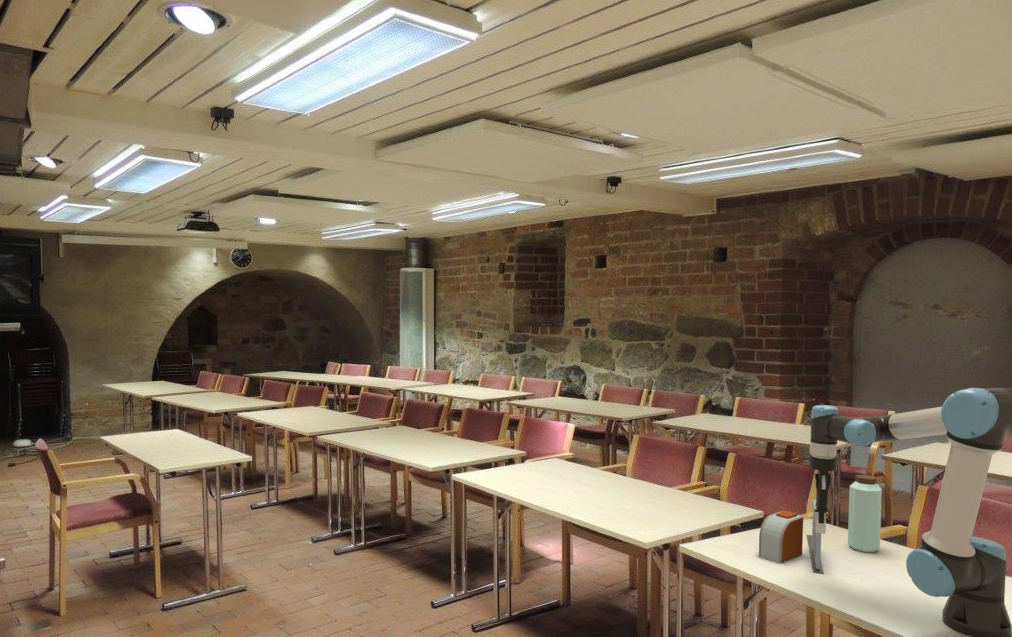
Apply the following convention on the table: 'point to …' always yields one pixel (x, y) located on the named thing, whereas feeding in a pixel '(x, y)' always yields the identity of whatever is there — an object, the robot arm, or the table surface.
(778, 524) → the alarm clock
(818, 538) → the screen
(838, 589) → the table surface
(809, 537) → the rail
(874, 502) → the water bottle
